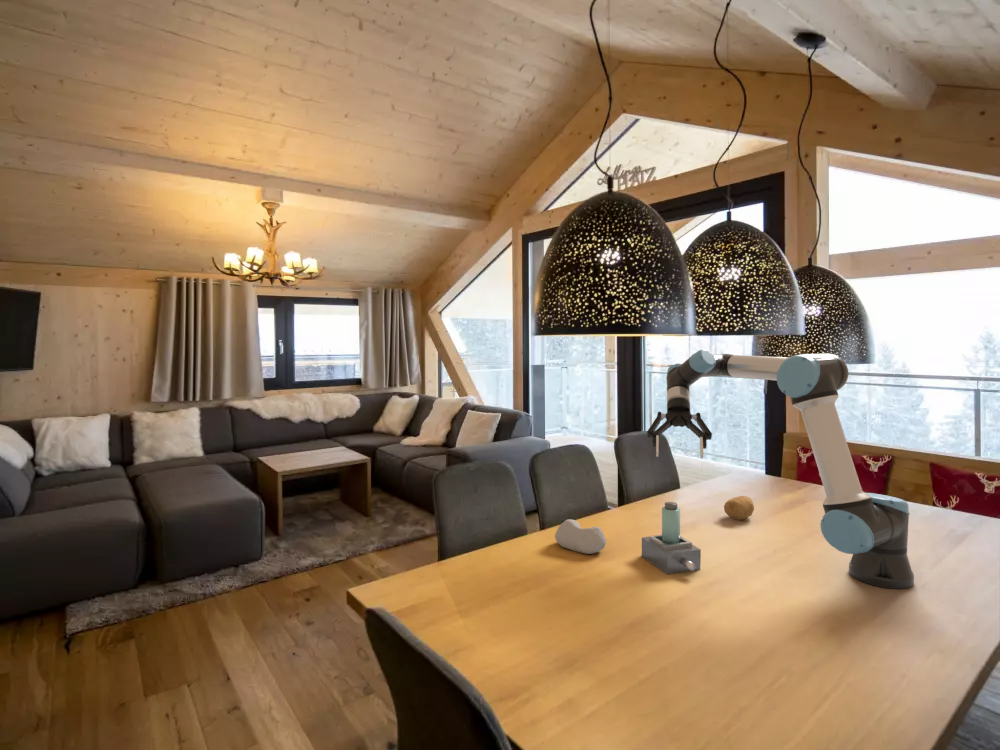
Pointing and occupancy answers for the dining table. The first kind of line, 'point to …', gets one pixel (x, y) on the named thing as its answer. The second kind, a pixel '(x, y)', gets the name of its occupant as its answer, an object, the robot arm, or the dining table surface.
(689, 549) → the square hollow holder
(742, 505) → the potato
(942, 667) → the dining table surface
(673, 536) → the teal bottle
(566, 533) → the decorative stone
